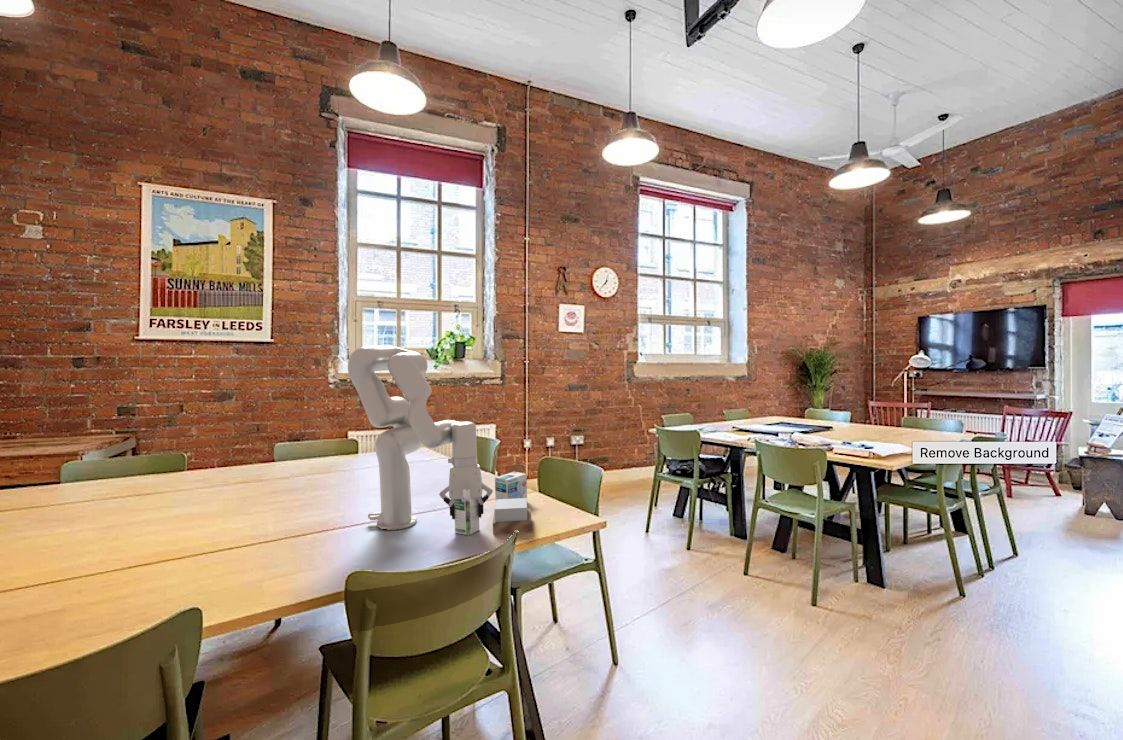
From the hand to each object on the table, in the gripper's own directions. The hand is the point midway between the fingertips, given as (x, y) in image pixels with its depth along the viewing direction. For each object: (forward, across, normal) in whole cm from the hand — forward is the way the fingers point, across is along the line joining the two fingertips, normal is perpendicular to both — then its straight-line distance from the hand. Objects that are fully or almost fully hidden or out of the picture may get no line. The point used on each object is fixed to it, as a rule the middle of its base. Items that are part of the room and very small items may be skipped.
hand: (467, 516), depth 156 cm
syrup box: (+5, 0, 0) cm, 5 cm away
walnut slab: (+5, +14, +2) cm, 15 cm away
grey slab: (+1, +14, +2) cm, 14 cm away
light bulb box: (+5, +14, +25) cm, 29 cm away
